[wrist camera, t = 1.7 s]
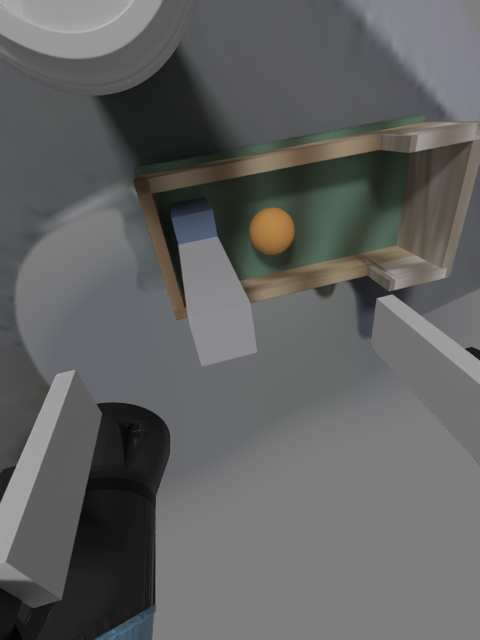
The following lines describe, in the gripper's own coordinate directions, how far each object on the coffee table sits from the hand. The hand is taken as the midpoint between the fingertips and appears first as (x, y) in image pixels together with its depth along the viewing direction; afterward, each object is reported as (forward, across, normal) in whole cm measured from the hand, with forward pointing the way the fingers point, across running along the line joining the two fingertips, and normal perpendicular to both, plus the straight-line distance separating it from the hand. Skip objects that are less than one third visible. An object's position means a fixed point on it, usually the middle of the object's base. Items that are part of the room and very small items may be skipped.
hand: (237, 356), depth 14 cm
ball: (+15, -6, 0) cm, 17 cm away
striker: (+17, 0, 0) cm, 17 cm away
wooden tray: (+19, -9, 0) cm, 21 cm away
